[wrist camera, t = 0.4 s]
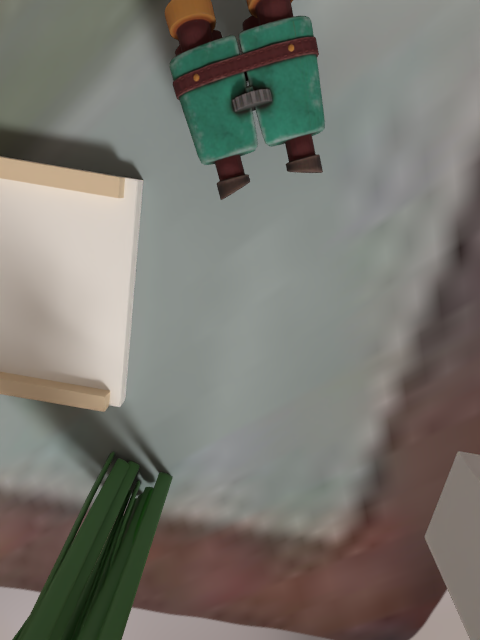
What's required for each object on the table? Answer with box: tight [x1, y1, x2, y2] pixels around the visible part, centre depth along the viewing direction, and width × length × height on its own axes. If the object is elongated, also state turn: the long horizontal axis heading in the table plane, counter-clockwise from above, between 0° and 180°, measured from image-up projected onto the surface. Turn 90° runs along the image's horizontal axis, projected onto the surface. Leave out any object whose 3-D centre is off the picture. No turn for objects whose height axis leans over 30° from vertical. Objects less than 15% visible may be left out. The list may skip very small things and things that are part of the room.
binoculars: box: [165, 0, 325, 200], centre depth 27 cm, size 9×11×10 cm
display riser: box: [0, 156, 143, 412], centre depth 35 cm, size 20×20×3 cm
